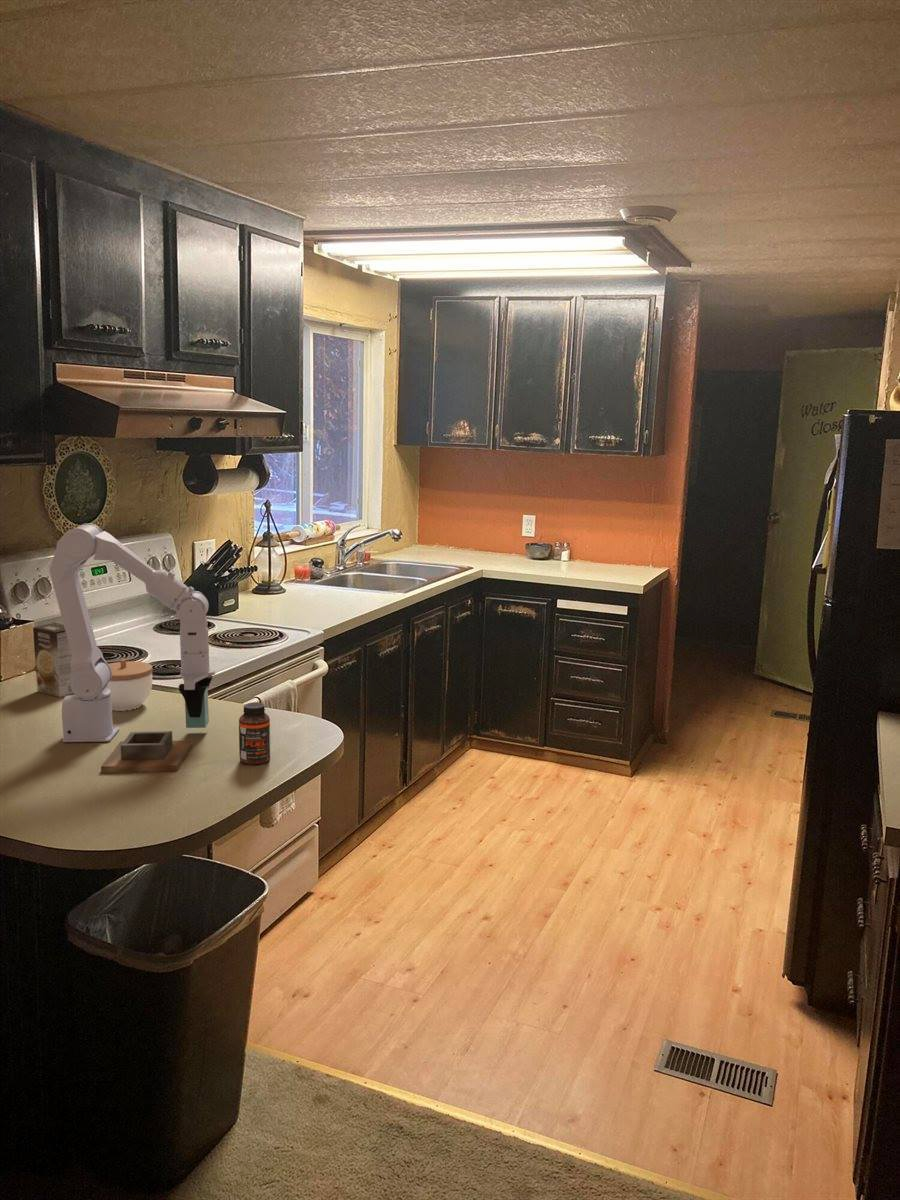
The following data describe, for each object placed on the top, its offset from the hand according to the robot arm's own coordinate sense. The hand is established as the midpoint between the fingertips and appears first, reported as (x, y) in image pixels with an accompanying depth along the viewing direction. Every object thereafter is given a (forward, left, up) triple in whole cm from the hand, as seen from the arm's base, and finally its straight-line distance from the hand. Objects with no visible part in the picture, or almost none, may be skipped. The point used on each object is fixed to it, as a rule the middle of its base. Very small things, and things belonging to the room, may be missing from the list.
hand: (197, 713), depth 202 cm
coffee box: (-39, +33, -5) cm, 51 cm away
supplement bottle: (+14, -17, -5) cm, 23 cm away
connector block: (0, 0, -3) cm, 2 cm away
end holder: (-7, -15, -4) cm, 17 cm away
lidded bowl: (-20, +20, -5) cm, 29 cm away
